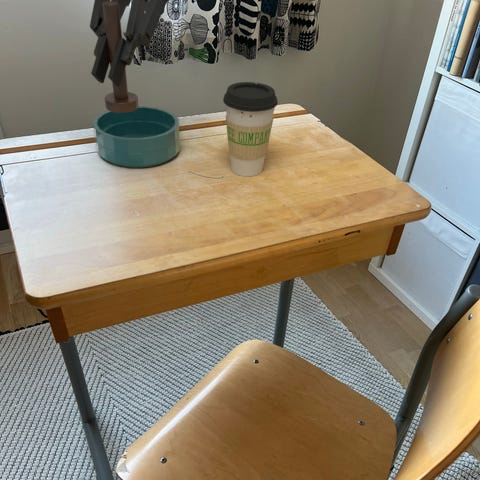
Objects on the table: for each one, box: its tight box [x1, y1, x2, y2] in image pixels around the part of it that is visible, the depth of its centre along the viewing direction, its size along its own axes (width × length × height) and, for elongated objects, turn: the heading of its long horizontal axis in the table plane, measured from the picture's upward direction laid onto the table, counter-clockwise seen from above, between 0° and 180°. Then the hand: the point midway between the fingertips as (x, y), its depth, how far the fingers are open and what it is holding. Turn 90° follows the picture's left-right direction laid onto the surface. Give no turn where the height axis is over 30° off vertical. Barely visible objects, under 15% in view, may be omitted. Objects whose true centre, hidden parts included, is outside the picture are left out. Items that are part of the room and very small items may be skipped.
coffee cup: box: [222, 81, 278, 177], centre depth 96 cm, size 10×10×15 cm
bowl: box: [92, 105, 181, 169], centre depth 103 cm, size 17×17×6 cm
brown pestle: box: [103, 0, 140, 113], centre depth 84 cm, size 6×6×16 cm
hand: (105, 79), depth 82 cm, fingers closed on brown pestle, 2 cm apart
